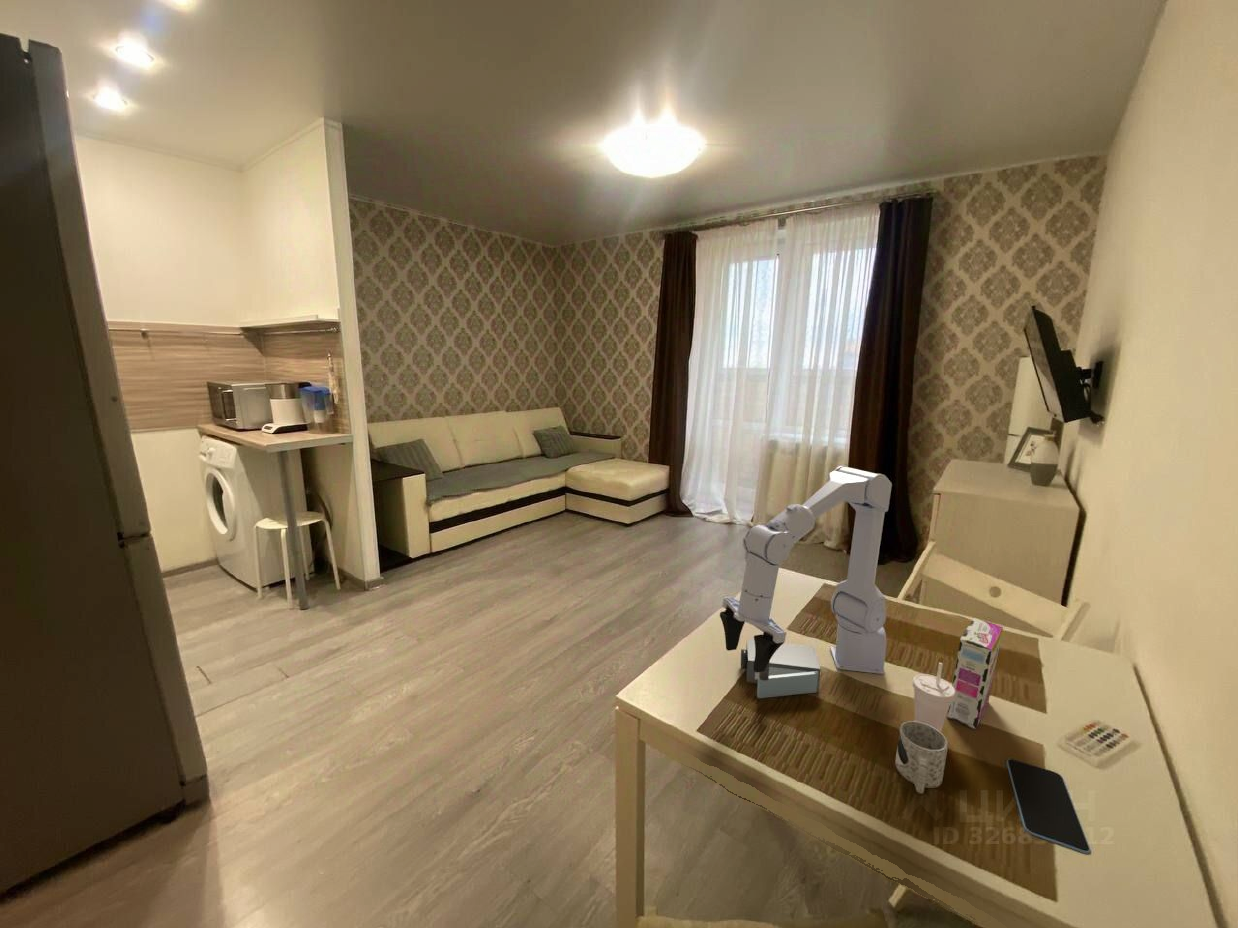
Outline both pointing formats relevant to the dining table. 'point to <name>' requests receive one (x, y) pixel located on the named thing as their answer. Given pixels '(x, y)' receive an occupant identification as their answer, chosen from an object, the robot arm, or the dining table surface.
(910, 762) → the mug
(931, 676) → the smoothie
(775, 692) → the side door
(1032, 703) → the dining table surface
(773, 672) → the camera housing
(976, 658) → the candy bar box
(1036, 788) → the smartphone
